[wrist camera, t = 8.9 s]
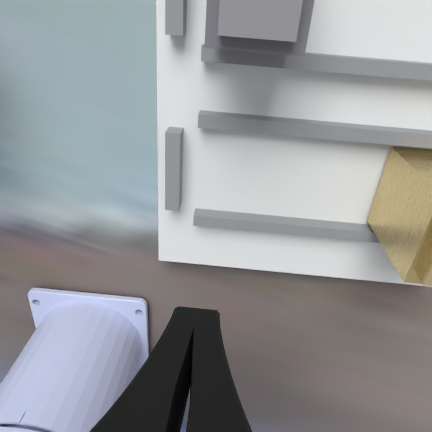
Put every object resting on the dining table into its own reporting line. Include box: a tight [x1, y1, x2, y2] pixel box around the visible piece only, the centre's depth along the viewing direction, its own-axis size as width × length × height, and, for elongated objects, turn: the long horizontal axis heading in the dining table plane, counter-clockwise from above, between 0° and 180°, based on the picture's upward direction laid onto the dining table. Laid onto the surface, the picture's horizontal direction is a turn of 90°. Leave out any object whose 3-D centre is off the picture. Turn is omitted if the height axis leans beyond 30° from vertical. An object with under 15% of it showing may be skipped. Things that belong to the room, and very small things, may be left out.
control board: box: [156, 0, 432, 287], centre depth 16 cm, size 22×16×2 cm
